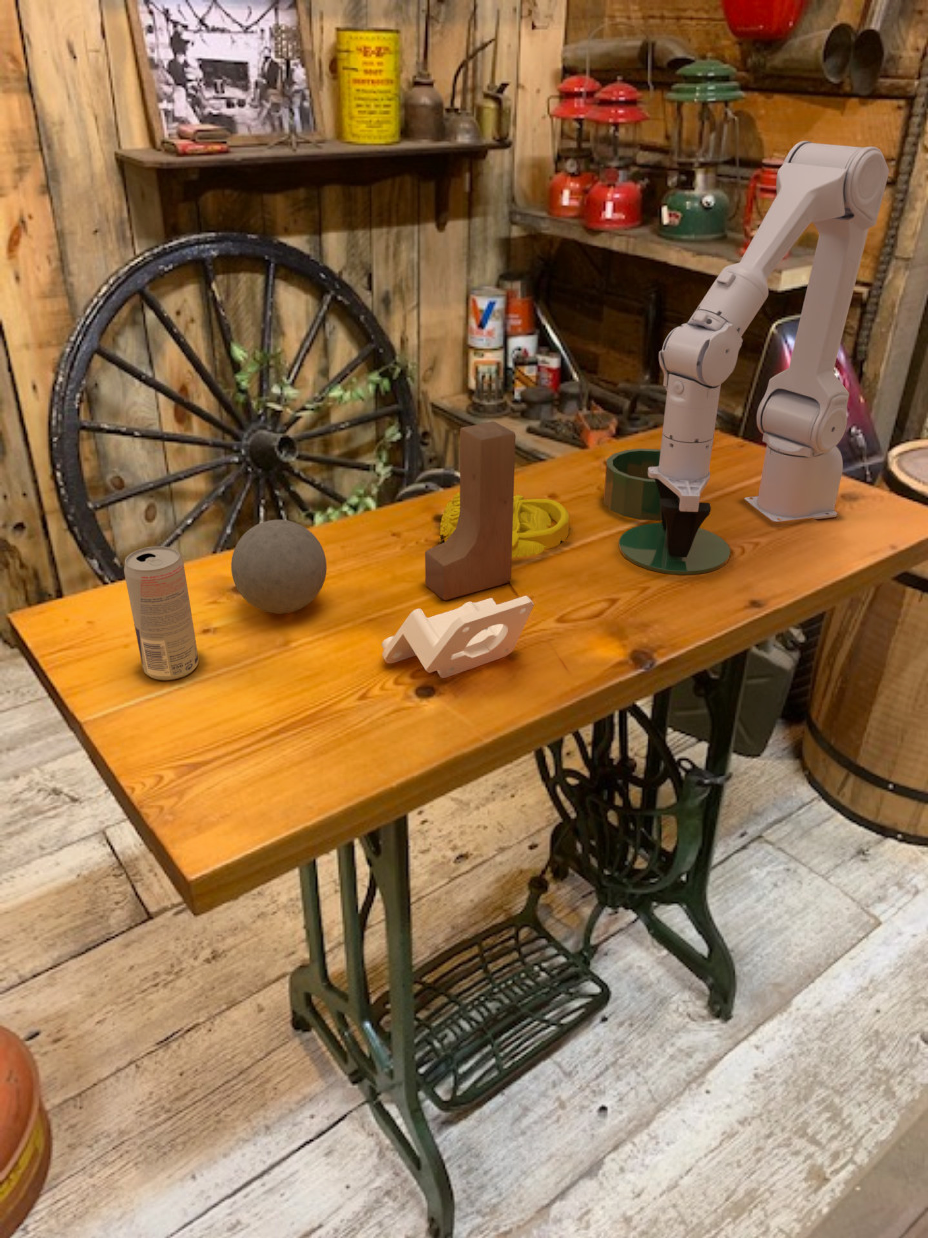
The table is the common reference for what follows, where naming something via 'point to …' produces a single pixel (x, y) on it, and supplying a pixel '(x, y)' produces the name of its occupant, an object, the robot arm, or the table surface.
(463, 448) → the wooden block
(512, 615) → the mounting bracket
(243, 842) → the table surface
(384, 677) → the table surface
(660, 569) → the lid
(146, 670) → the energy drink
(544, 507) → the door knocker
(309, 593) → the decorative ball
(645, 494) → the pot
